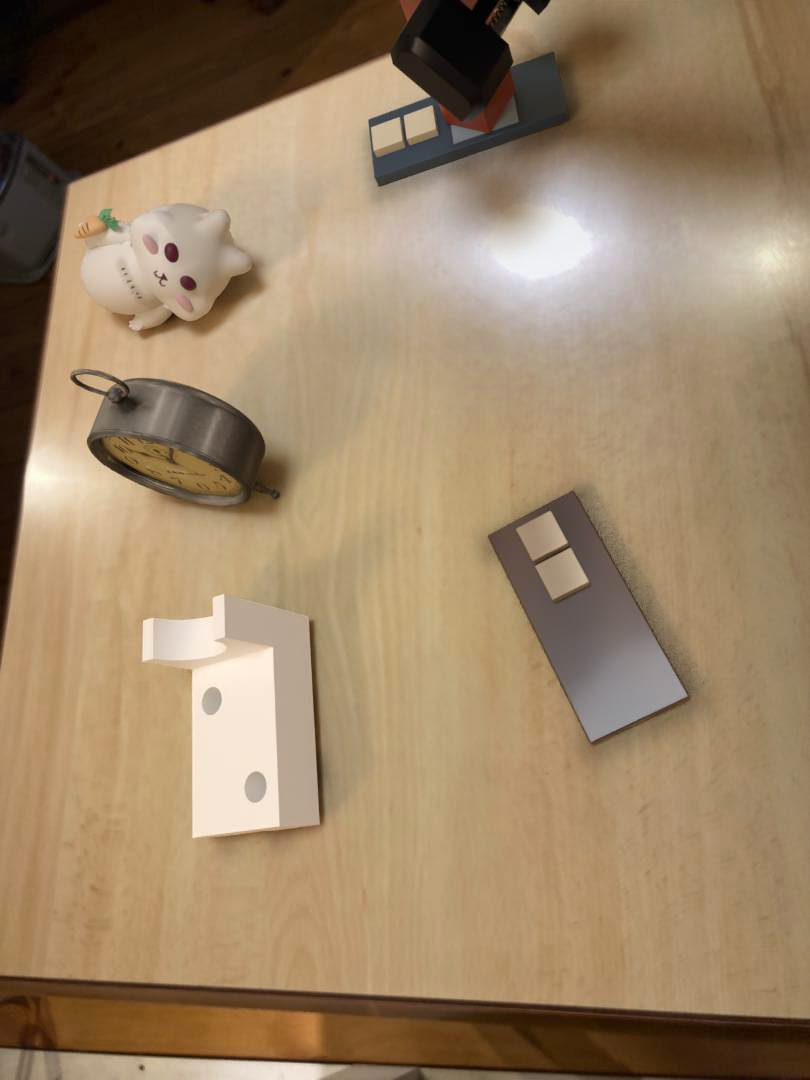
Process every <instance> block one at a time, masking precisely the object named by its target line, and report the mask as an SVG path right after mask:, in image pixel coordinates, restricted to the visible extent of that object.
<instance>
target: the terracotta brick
mask: <svg viewBox="0 0 810 1080" xmlns="http://www.w3.org/2000/svg"><path fill="white" fill-rule="evenodd" d="M398 1H399V4H400V6H401V9H402V12H403V15H404V17H405V19H406V23H407V22H408V20H409V18H410V17H411V15H412V14H413V12H414V11H415V9H416V7H417V6H418V4H419V3H420V1H421V0H398ZM461 1H462V2H463V3H464V4H465V5H466V6H467V7H468V8H470V9H471V8H472V7H473V5H474V4H475V2H476V0H461ZM495 12H496V11H495V9H494V10H493V11H492V13H491V14H490V16H489V18H488V19H487V21H486V24H487V25H488V23H489V22H490V21H492V20H491V18H492V17H493V16H494V15H495V14H494V13H495ZM514 93H515V86H514V83H513V79H512V75H511V71H510V69H509V71H508V73H507V74H506V76H505V78H504V79H503V81H502V83H501V84H500V86H499V88H498V89H497V91H496V93H495V94H494V96H493V97H492V99H491V101H490V102H489V104H488V106H487V107H486V109H485V110H484V111H483V112H482V113H481V114H480V115H479V116H478V117H477V118H476V119H475V120H474V121H470V122H460V121H459V120H458V119H456V118H455V117H454V116H453V115H452V114H451V113H449V112H448V111H447V110H446V109H445V108H444V107H442V106H441V105H440V104H439V103H438V104H439V106H440V109H441V112H442V114H443V117H444V120H445V122H446V123H447V124H451V125H455V126H459V127H464V128H468V129H472V130H477V131H481V132H485V133H491V131H492V129H493V128H494V126H495V124H496V123H497V121H498V119H499V118H500V116H501V114H502V113H503V111H504V109H505V108H506V106H507V104H508V103H509V101H510V99H511V98H512V96H513V94H514Z"/></svg>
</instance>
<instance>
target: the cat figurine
mask: <svg viewBox="0 0 810 1080" xmlns="http://www.w3.org/2000/svg"><path fill="white" fill-rule="evenodd" d="M113 210H114V209H113V208H104V209H102V210H101V211H100V212H99V214H98V215H89V216H88V217H87V218H85V220H83V221H81V222H80V223H79V224H78V225H77V228H76V230H75V231H74V233H73V237H74V238H75V239H78V240H82V239H83V240H84V244H85V246H86V247H87V248H88V249H87V250H86V252H85V254H84V256H83V257H82V259H81V263H80V270H79V274H80V275H79V276H80V281H81V284H82V287H83V290H84V291H85V292H86V294H87V295H88V297H89V298H90V299H91V300H92V301H93V302H94V303H95V304H97V305H98V306H99V307H101V308H103V309H105V310H107V311H109V312H112V313H114V314H119V315H127V316H129V315H130V316H131V315H132V316H134V317H133V318H132V320H129V321H128V323H129V325H128V328H130V329H131V330H133V331H140V330H141V331H142V330H146V329H151V328H157V327H159V326H161V325H162V324H163V323H165V322H166V321H167V320H168V319H170V318H171V316H172V315H173V314H174V315H175V316H176V317H178V318H180V319H182V320H184V321H186V322H194V321H197V320H198V319H201V318H202V317H204V316H205V315H206V314H208V313H209V312H210V311H211V309H212V307H213V305H214V302H215V300H216V299H217V298H218V297H219V296H220V295H221V294H222V293H223V292H224V290H225V289H226V287H227V286H228V284H229V283H230V281H231V278H232V277H236V276H240V275H243V274H245V273H247V272H249V271H250V270H251V269H252V266H253V263H252V260H251V257H249V255H247V254H246V253H245V252H243V251H242V250H240V249H239V248H237V247H236V243H235V239H234V237H233V235H232V233H231V231H230V229H231V216H230V214H229V212H228V211H227V210H225V209H223V208H219V209H216V210H211V211H210V210H209V209H207V208H205V207H202V206H200V205H198V204H193V203H184V202H183V203H181V202H180V203H177V202H176V203H168V204H167V203H166V204H160V205H155V206H154V207H151V208H149V209H148V210H146V211H145V212H144V213H142V214H139V215H137V216H136V217H135V218H133V220H132V221H129V222H125V221H122V220H118V219H116V217H115V216H113V217H112V215H111V214H112V211H113Z"/></svg>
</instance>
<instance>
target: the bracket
mask: <svg viewBox="0 0 810 1080" xmlns="http://www.w3.org/2000/svg"><path fill="white" fill-rule="evenodd" d="M310 635H311V634H310V619H309V615H305V614H302V613H298V612H294V611H290V610H287V609H282V608H279V607H275V606H271V605H268V604H264V603H260V602H256V601H253V600H249V599H246V598H241V597H237V596H234V595H229V594H227V593H222V594H220V595H217V596H214V597H212V615H209V616H205V617H200V618H189V619H166V618H158V617H154V616H153V617H150V618H147V619H143V620H142V653H141V654H142V657H141V659H142V661H141V662H142V663H148V664H154V665H162V666H168V667H173V668H180V669H186V670H191V710H192V711H191V758H192V759H191V778H192V779H191V781H192V782H191V783H192V784H191V787H192V788H191V791H192V792H191V793H192V794H191V795H192V796H191V799H192V800H191V802H192V803H191V804H192V805H191V807H192V808H191V809H192V811H191V813H192V814H191V815H192V816H191V818H192V819H191V820H192V822H191V823H192V826H191V827H192V828H191V829H192V830H191V831H192V839H198V838H199V839H201V838H217V837H218V838H220V837H228V836H237V835H243V834H252V833H259V832H272V831H273V832H274V831H283V830H290V829H297V828H305V827H312V826H320V825H321V823H320V810H319V809H320V807H319V805H320V804H319V787H318V786H319V785H318V770H317V769H318V768H317V749H316V730H315V712H314V711H315V710H314V693H313V691H314V690H313V676H312V675H313V674H312V656H311V655H312V654H311V637H310Z"/></svg>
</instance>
